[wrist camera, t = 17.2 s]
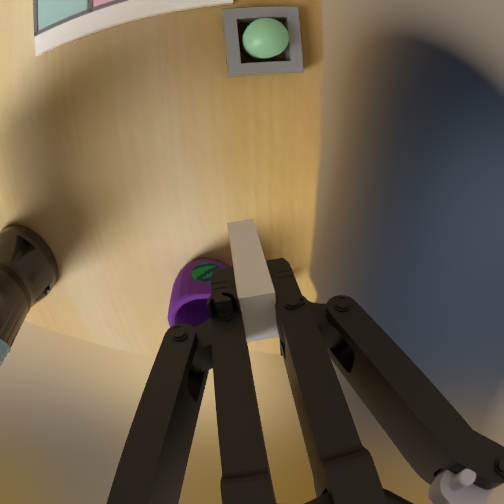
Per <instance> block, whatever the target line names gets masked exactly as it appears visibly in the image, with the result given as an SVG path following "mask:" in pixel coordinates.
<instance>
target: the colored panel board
mask: <svg viewBox="0 0 504 504" xmlns="http://www.w3.org/2000/svg"><path fill="white" fill-rule="evenodd" d="M231 4H233V0H33V19H34V39H35V52H36V56H40V55H42V54H44V53H46V52H48V51H50V50H53V49H55V48H57V47H60V46H62V45H64V44H67V43H69V42H72V41H74V40H77V39H79V38H82V37H85V36H88V35H90V34H93V33H96V32H99V31H102V30H105V29H108V28H111V27H115V26H118V25H121V24H125V23H129V22H132V21H136V20H140V19H144V18H148V17H153V16H157V15H162V14H167V13H172V12H177V11H183V10H189V9H196V8H203V7H211V6H220V5H231Z"/></svg>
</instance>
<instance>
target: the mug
mask: <svg viewBox="0 0 504 504" xmlns="http://www.w3.org/2000/svg"><path fill="white" fill-rule="evenodd" d="M222 268H229V267H228V266H227V265H225V264H224V263H222V262H220V261H217V260H212V259H199V260H195V261H192V262H191V263H189V264H187V265H186V266H185V267H184V268H183V269H182V270H181V271H180V272H179V274H178V276H177V278H176V280H175V282H174V285H173V289H172V294H171V298H170V305H169V312H168V321H169V325H170V327H172V326H174V325H176V324H180V323H186V324H190V325H191V326H192V327H195V326H198V325H200V324H202V323H204V322H205V321H207V320H208V319H209V317H210V315H209V311H208V308H207V304H206V303H207V299H208V298H209V297H210V296H211V275H212V273H213V271H214V270H216V269H222Z"/></svg>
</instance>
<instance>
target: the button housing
mask: <svg viewBox="0 0 504 504" xmlns="http://www.w3.org/2000/svg"><path fill="white" fill-rule="evenodd" d="M261 18H271V19H275V20H277V21H279V22H281V23H282V24H283V25H284V26H285V28H286V29H287V31H288V35H289V42H288V45H287V47H286V48H285V50H284V60H285V61H275V62H256V63H243V64H241V59H240V49H239V38H238V28H237V24H239V23H252V22H253V21H255V20H257V19H261ZM222 19H223V29H224V39H225V49H226V59H227V68H228V77H230V76H240V75H252V74H268V73H294V72H304V71H303V57H302V44H301V32H300V22H299V11H298V7H248V8H233V9H223V11H222Z"/></svg>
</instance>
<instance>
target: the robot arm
mask: <svg viewBox="0 0 504 504" xmlns="http://www.w3.org/2000/svg"><path fill="white" fill-rule="evenodd" d="M227 224H228V231H229V239H230V246H231V253H232V260H233V267H229V268H222V269H216V270H214V271H213V273H212V275H211V296H210V297H209V298H208V299H207V303H206V304H207V308H208V311H209V315H210V317H209V319H208V320H207V321H205V322H204V323H202V324H200V325H198V326H195V327H192V326H191V325H190V324H186V323H180V324H176V325H174V326H172V327H171V328H169V329H168V330H167V332H166V333H165V336H164V338H163V341H162V343H161V346H160V348H159V351H158V354H157V356H156V359H155V362H154V365H153V367H152V370H151V372H150V375H149V378H148V380H147V383H146V386H145V389H144V391H143V394H142V397H141V400H140V402H139V405H138V408H137V411H136V414H135V417H134V420H133V422H132V425H131V428H130V431H129V434H128V437H127V440H126V443H125V446H124V449H123V452H122V455H121V458H120V462H119V465H118V468H117V471H116V475H115V477H114V481H113V484H112V487H111V491H110V494H109V497H108V501H107V504H178V503H179V498H180V493H181V488H182V484H183V480H184V475H185V471H186V466H187V462H188V457H189V453H190V449H191V445H192V440H193V436H194V431H195V427H196V422H197V419H198V414H199V410H200V406H201V401H202V397H203V393H204V389H205V385H206V380H207V376H208V371H209V369H211V368H213V373H214V387H215V400H216V411H217V424H218V436H219V446H220V456H221V465H222V478H221V496H222V504H276V499H275V494H274V489H273V485H272V480H271V475H270V469H269V464H268V459H267V453H266V448H265V442H264V437H263V432H262V426H261V421H260V415H259V409H258V403H257V399H256V392H255V386H254V381H253V375H252V369H251V363H250V357H249V351H248V346H247V342H250V341H256V340H261V339H267V338H273V337H278V334H279V338H280V351H281V355H283V359H284V362H285V366H286V370H287V374H288V378H289V382H290V386H291V390H292V394H293V398H294V402H295V406H296V409H297V413H298V417H299V421H300V425H301V429H302V433H303V437H304V441H305V445H306V449H307V453H308V457H309V461H310V465H311V469H312V473H313V478H314V487H315V492H316V496H317V498H315V499H313V500H311V501H309V502H307V503H305V504H413V503H411V502H409V501H407V500H405V499H403V498H402V497H400V496H398V495H396V494H394V493H392V492H391V491H389V490H386V489H383V488H382V485H381V482H380V480H379V476H378V473H377V470H376V468H375V465H374V462H373V459H372V457H371V454H370V452H369V451H368V450H367V449H366V448H364V447H363V446H362V444H361V441H360V439H359V436H358V433H357V430H356V427H355V425H354V422H353V419H352V416H351V413H350V411H349V408H348V405H347V402H346V400H345V397H344V394H343V391H342V389H341V386H340V383H339V381H338V378H337V375H336V372H335V370H334V367H333V364H332V362H331V359H332V360H333V362H334V363H335V365H336V366H337V367H338V368H339V370H340V371H341V373H342V374H343V375H344V377H345V378H346V379H347V381H348V382H349V383H350V385H351V386H352V387H353V389H354V390H355V392H356V393H357V394H358V396H359V397H360V398H361V400H362V401H363V402H364V404H365V405H366V406H367V408H368V409H369V410H370V412H371V413H372V415H373V416H374V417H375V418H376V420H377V421H378V423H379V424H380V425H381V427H382V428H383V429H384V430H385V432H386V433H387V435H388V436H389V437H390V438H391V440H392V441H393V443H394V444H395V445H396V447H397V448H398V449H399V451H400V452H401V454H402V455H403V456H404V457H405V459H406V460H407V462H408V463H409V464H410V466H411V467H412V468H413V469H414V470H415V472H416V473H417V474H418V475H419V476H420V477H421V478H422V479H423V480H425V481H426V482H427V483H429V484H430V488H429V499H430V500H431V501H432V502H433V504H486V502H487V500H488V498H489V496H490V495H491V493H492V491H493V489H494V488H496V487H497V486H499V485H501V484H503V483H504V447H503V446H501V445H499V444H498V443H496V442H494V441H492V440H490V439H488V438H487V437H485V436H483V435H481V434H479V433H477V432H476V431H474V430H472V428H471V427H470V426H469V425H468V424H467V423H466V421H465V420H464V419H463V418H462V417H461V415H460V414H459V413H458V412H457V411H456V410H455V409H454V407H453V406H452V405H451V404H450V403H449V402H448V401H447V400H446V398H445V397H444V396H443V395H442V394H441V393H440V391H439V390H438V389H437V388H436V387H435V386H434V385H433V384H432V383H431V381H430V380H429V379H428V378H427V377H426V376H425V375H424V374H423V373H422V371H420V369H419V368H418V367H417V366H416V365H415V364H414V363H413V362H412V361H411V359H410V358H409V357H408V356H407V355H406V354H405V353H404V352H403V351H402V350H401V349H400V348H399V347H398V345H397V344H396V343H395V342H394V341H393V340H392V339H391V338H390V337H389V336H388V335H387V334H386V333H385V332H384V330H383V329H382V328H381V327H380V326H379V325H378V324H377V323H376V322H375V321H374V320H373V319H372V318H371V317H370V316H369V315H368V314H367V313H366V312H365V311H364V310H363V308H361V306H360V305H359V304H358V303H357V302H356V301H355V300H353V299H352V298H351V297H348V296H342V295H339V296H335V297H332V298H331V299H330V300H329V301H328V302H327V304H318V303H313V302H310V301H308V300H307V299H306V298H305V297H304V296H302V294H301V292H300V289H299V287H298V284H297V282H296V279H295V277H294V274H293V272H292V269H291V267H290V264H289V263H288V262H287V261H286V260H285V259H283V258H279V259H273V260H267V261H266V260H265V257H264V254H263V250H262V247H261V244H260V240H259V237H258V234H257V230H256V227H255V224H254V220H253V219H250V220H243V221H237V222H231V223H227ZM56 279H57V265H56V261H55V258H54V256H53V254H52V252H51V250H50V248H49V247H48V246H47V244H46V243H45V242H44V241H43V240H42V238H40V237H39V236H38V235H37V234H36V233H34V232H33V231H31V230H30V229H28V228H25V227H22V226H17V225H13V226H8V227H6V228H4V229H3V230H2V231H1V232H0V366H1V365H2V363H3V361H4V359H5V358H6V356H7V354H8V353H9V352H10V348H11V346H12V344H13V342H14V340H15V337H16V335H17V333H18V331H19V329H20V327H21V325H22V323H23V321H24V319H25V317H26V315H27V313H28V312H29V310H30V308H31V307H32V306H34V305H35V304H36V303H37V302H39V301H40V300H41V299H43V298H44V297H45V296H47V295H48V294H49V292H50V291H51V289H52V288H53V286H54V284H55V282H56ZM330 358H331V359H330Z"/></svg>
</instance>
